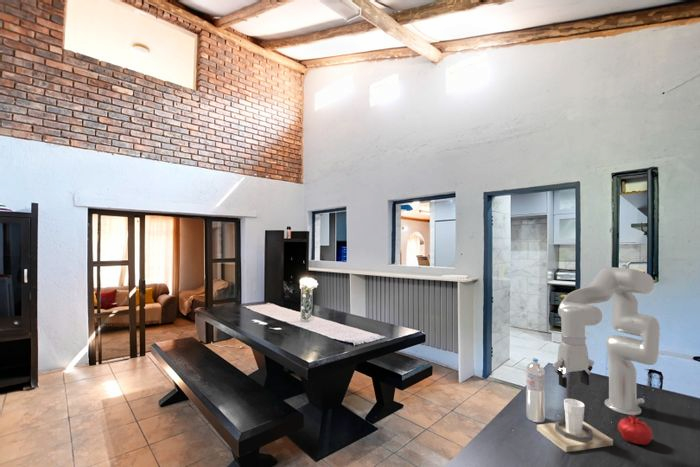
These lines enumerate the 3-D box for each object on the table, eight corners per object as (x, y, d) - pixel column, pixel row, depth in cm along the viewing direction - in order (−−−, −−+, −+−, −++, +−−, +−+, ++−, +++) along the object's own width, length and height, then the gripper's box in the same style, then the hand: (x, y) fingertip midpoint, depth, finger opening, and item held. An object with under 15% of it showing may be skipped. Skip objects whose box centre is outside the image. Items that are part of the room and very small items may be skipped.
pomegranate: (655, 452, 121) (655, 426, 121) (619, 442, 126) (620, 418, 126) (649, 437, 129) (649, 413, 129) (616, 429, 135) (616, 405, 134)
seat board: (580, 424, 138) (580, 415, 138) (612, 445, 124) (612, 435, 124) (536, 429, 134) (536, 421, 134) (565, 452, 121) (565, 442, 121)
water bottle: (547, 424, 138) (547, 362, 138) (529, 422, 140) (528, 361, 139) (541, 415, 145) (541, 356, 145) (524, 413, 146) (523, 355, 146)
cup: (583, 429, 131) (582, 400, 131) (586, 438, 125) (586, 408, 125) (562, 425, 134) (562, 397, 134) (564, 434, 128) (564, 404, 128)
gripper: (584, 335, 135) (584, 378, 135) (545, 338, 131) (546, 383, 132) (601, 341, 127) (602, 386, 128) (561, 345, 124) (562, 392, 124)
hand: (573, 384), depth 130 cm, fingers open, 9 cm apart
